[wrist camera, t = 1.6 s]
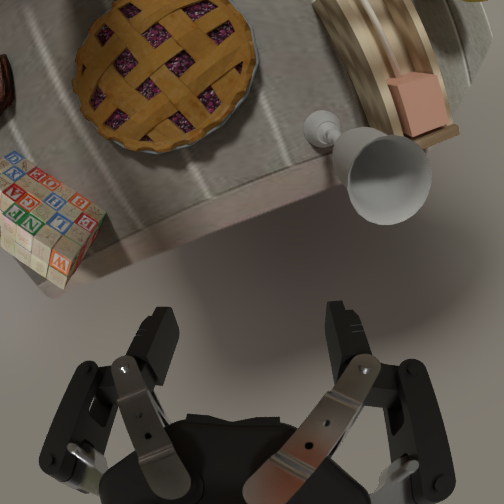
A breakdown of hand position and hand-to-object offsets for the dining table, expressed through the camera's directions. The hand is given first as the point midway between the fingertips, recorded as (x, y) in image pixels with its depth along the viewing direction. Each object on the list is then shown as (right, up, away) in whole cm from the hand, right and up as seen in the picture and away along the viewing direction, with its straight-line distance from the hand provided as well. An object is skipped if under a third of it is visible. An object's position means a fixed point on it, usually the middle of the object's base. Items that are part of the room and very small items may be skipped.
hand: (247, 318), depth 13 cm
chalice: (+9, +19, +18) cm, 27 cm away
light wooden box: (+16, +27, +11) cm, 34 cm away
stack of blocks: (-32, +13, +20) cm, 40 cm away
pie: (-10, +26, +12) cm, 30 cm away
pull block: (+14, +29, +8) cm, 33 cm away
